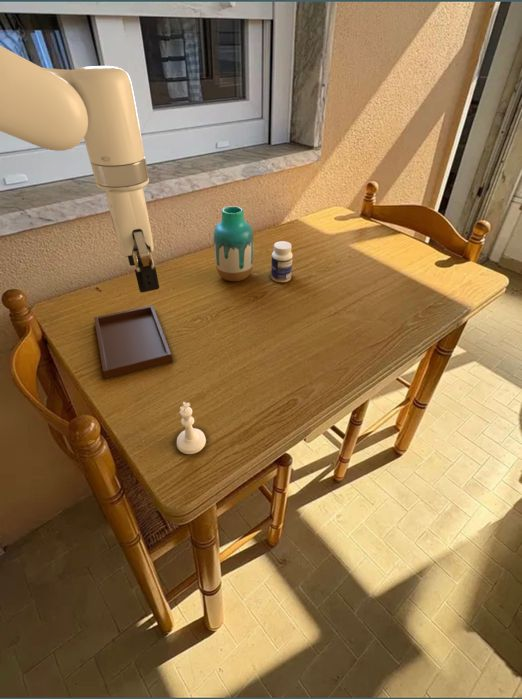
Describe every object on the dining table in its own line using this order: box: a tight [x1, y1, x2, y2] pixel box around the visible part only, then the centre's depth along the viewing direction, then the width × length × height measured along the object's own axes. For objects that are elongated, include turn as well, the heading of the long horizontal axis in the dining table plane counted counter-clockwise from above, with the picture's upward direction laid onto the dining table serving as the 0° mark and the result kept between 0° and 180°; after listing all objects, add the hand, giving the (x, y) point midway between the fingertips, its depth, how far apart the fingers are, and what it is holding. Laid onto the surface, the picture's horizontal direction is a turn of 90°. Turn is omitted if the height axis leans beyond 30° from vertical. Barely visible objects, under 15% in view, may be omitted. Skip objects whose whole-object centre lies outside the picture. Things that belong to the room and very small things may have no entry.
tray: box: [93, 304, 173, 380], centre depth 84 cm, size 14×20×2 cm
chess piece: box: [176, 401, 207, 455], centre depth 62 cm, size 5×5×10 cm
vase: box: [213, 205, 255, 282], centre depth 101 cm, size 11×11×19 cm
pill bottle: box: [270, 240, 294, 283], centre depth 104 cm, size 6×6×10 cm
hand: (144, 276), depth 66 cm, fingers open, 9 cm apart
